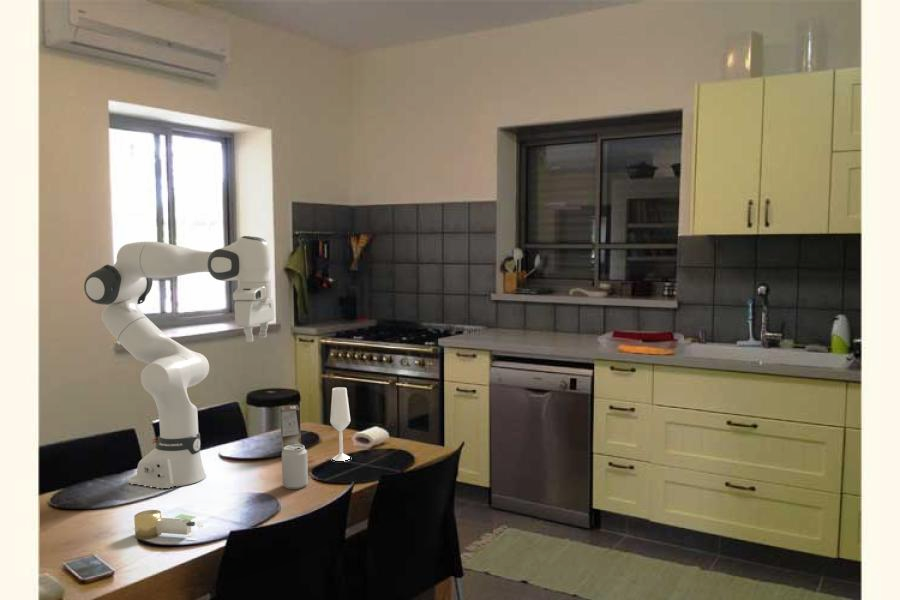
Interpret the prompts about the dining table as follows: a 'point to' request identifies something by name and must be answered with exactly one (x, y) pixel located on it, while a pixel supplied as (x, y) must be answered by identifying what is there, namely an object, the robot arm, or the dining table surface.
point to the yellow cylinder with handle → (159, 525)
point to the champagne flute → (340, 417)
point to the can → (294, 466)
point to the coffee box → (290, 425)
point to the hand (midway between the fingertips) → (256, 339)
